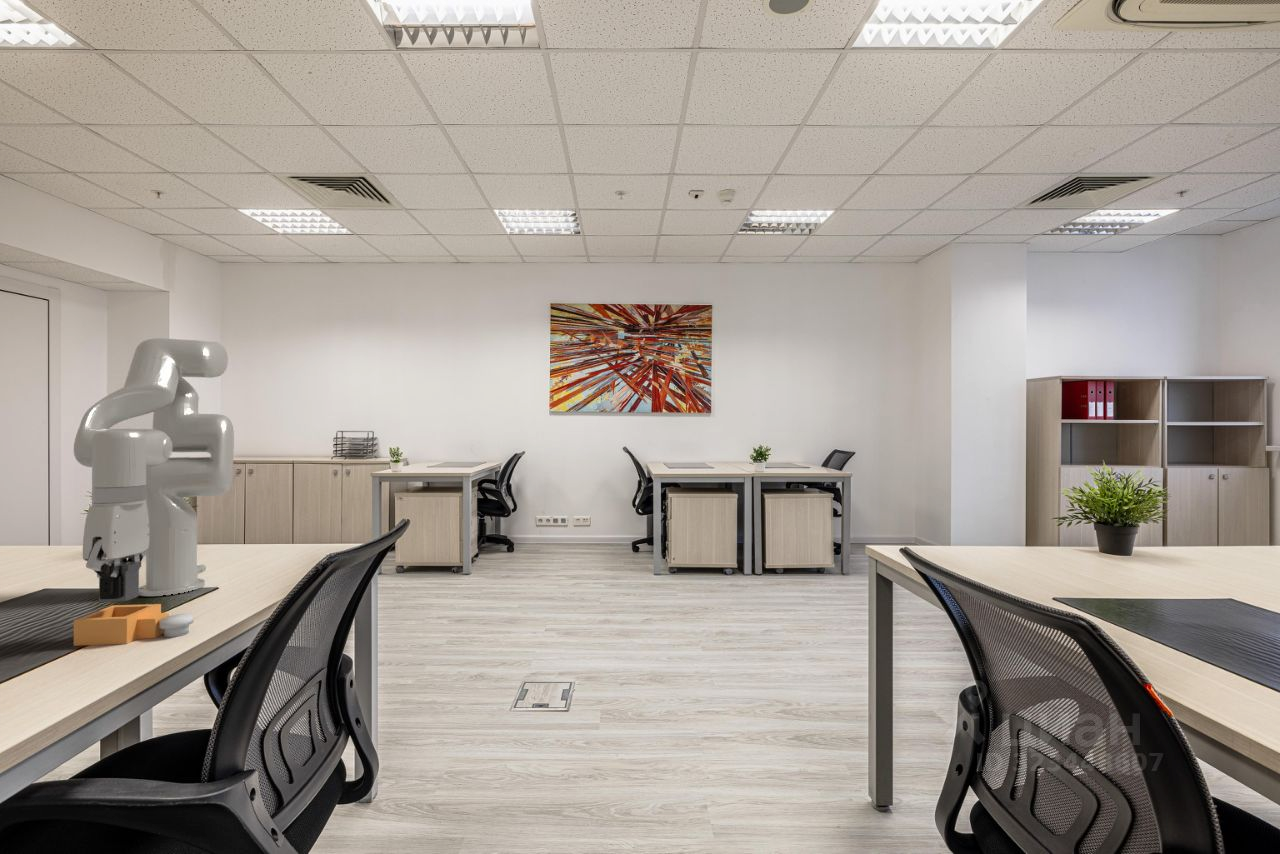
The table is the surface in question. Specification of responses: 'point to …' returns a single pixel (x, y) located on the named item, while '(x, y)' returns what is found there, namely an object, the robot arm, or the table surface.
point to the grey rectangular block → (126, 581)
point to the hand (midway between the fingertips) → (119, 594)
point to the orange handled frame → (129, 625)
